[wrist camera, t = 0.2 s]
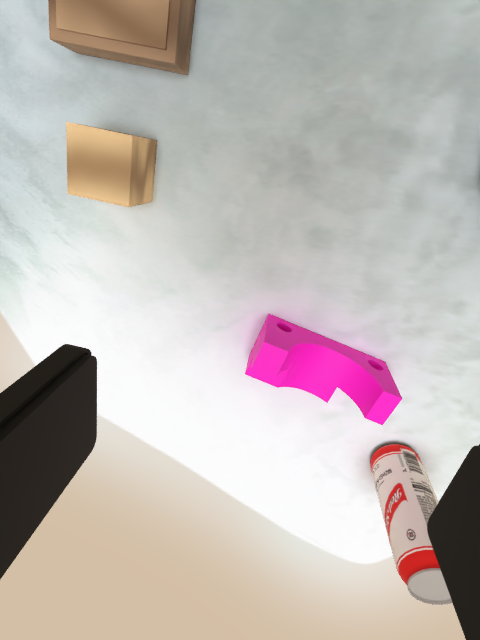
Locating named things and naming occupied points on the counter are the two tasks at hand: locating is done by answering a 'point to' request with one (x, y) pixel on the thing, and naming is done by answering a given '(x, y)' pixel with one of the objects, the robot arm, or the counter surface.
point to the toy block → (322, 368)
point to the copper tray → (126, 30)
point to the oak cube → (110, 165)
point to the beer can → (409, 520)
